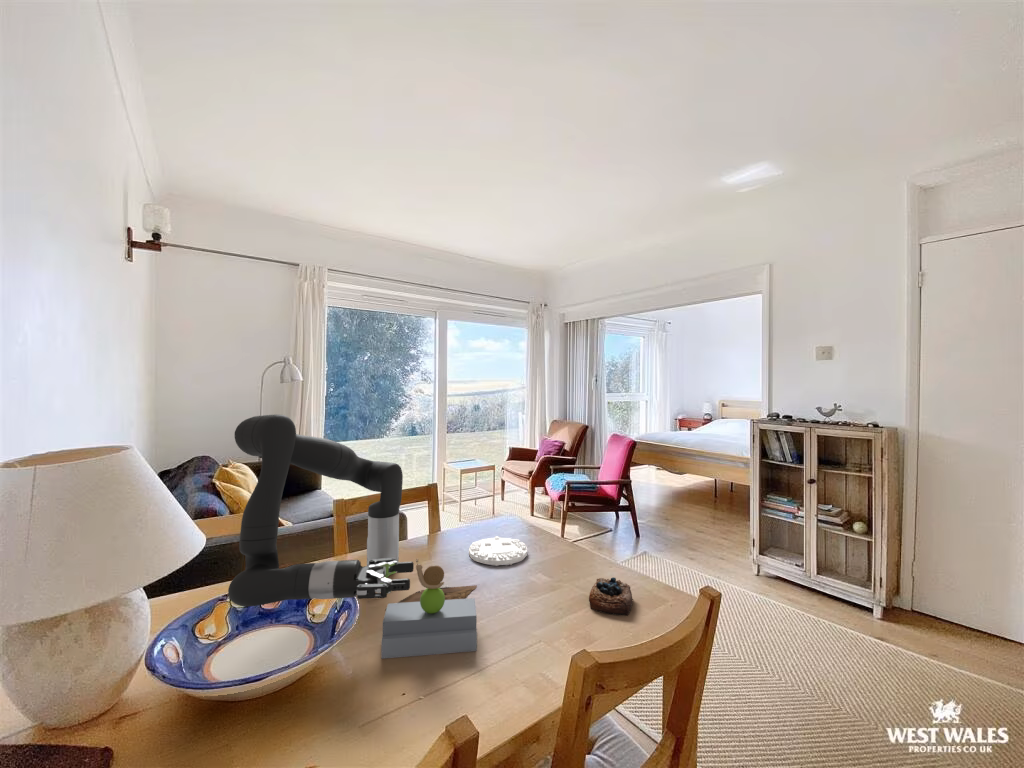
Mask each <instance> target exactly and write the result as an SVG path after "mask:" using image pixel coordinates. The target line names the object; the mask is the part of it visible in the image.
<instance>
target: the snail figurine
mask: <svg viewBox="0 0 1024 768" xmlns="http://www.w3.org/2000/svg"><path fill="white" fill-rule="evenodd" d="M415 562H416V566H415V568H416V572H417V573H416V574H417V577H418V580H419V583H420V585H421V586H422V587H424V588H425V589H423V590H424V591H423V593H422V595H421V598H420V605H421V607H422V609H423V610H424V611H425V612H427V613H430V614H433V613H436V612H438V611H440V610H441V608H442V607H443V605H444V602H445V596H444V593H443V591H442V590H441V589H440V588H442V587H443V585H444V584H445V582H444V581H443V580H444V579H445V572H444V569H443V567H441V566H439V565H437V564H431V565H429V566H428V567H426V569H425V571H424V572H423V564H421V563H418V562H419V558H416V560H415Z"/></svg>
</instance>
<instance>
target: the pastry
mask: <svg viewBox="0 0 1024 768" xmlns="http://www.w3.org/2000/svg"><path fill="white" fill-rule="evenodd" d="M591 587H592V588H591V590H590V592H589V595H588V601H589V608H590V609H591V610H592V611H593V610H594V611H595V612H600V613H603V614H608V615H614V616H615V615H616V616H627V617H628V615H630V612H631V610H632V607H633V601H634V599H633V596H632V595H633V594H632V590H631V586H630V585H628V583H626V582H625V583H624V582H623V581H621V580H620V579H617V578H616V577H611V578H610V579H609V578H604V577H603V578H602V577H600V578H596V582H595V583H594V584H593V586H591ZM632 600H633V601H632Z"/></svg>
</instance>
